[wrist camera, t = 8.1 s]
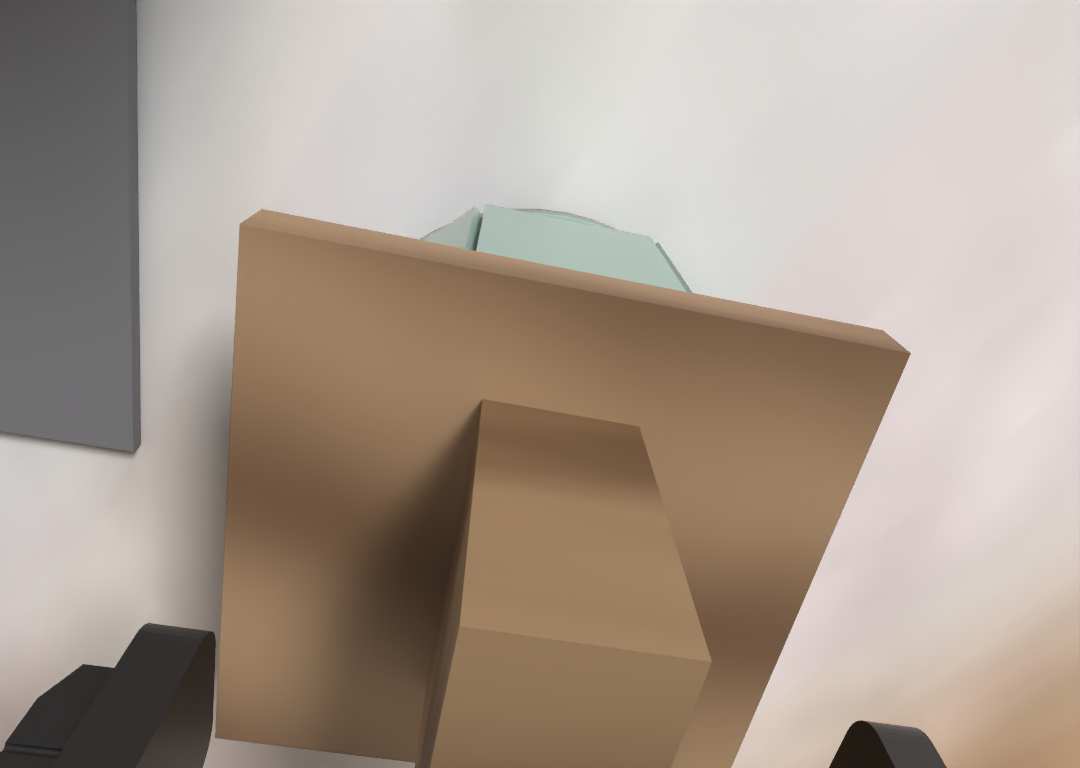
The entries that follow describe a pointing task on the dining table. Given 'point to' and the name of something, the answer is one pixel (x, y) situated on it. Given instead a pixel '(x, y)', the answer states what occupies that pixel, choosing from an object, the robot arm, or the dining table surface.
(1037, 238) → the dining table surface
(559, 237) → the bowl
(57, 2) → the mat
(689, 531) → the lid
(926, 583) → the dining table surface
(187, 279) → the dining table surface
